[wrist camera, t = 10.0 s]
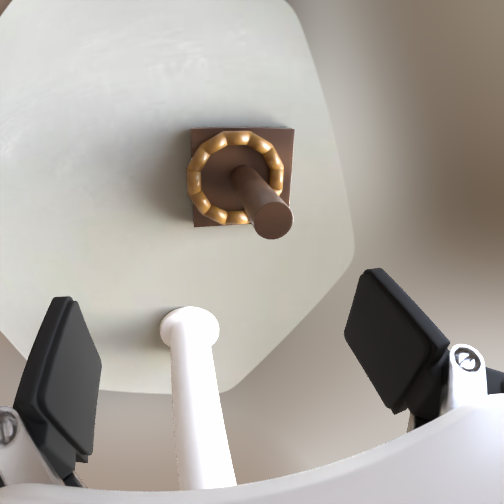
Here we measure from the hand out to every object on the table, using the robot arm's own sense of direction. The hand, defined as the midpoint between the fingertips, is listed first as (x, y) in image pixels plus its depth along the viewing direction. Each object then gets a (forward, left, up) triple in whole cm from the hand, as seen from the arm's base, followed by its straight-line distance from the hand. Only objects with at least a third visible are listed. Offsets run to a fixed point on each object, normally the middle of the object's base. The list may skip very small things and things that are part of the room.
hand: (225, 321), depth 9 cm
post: (0, +4, -20) cm, 20 cm away
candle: (+18, -2, -20) cm, 27 cm away
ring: (0, +3, -18) cm, 18 cm away
